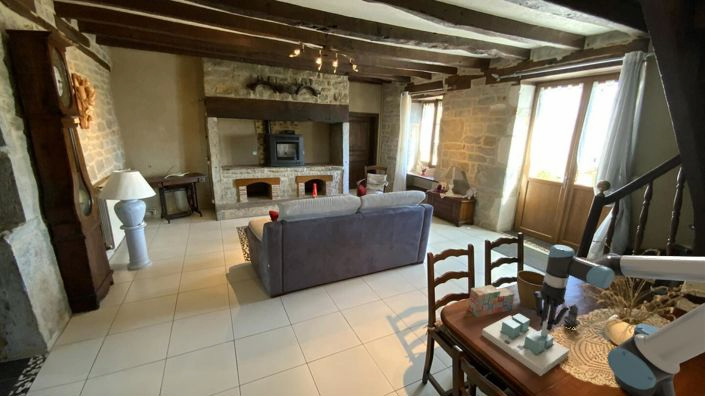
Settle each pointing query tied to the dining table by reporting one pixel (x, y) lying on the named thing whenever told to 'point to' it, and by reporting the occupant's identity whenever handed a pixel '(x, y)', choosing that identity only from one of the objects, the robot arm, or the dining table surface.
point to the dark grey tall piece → (571, 318)
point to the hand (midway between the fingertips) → (544, 334)
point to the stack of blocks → (490, 300)
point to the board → (522, 354)
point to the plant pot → (529, 287)
